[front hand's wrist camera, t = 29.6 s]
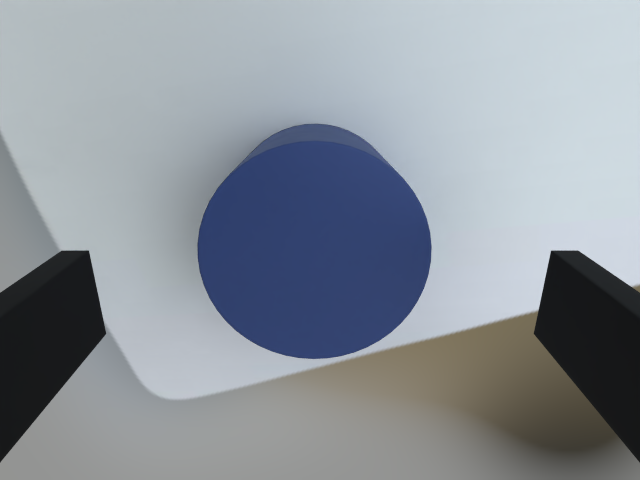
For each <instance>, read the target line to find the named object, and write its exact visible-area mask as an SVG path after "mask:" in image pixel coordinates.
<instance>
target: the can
mask: <svg viewBox="0 0 640 480" xmlns="http://www.w3.org/2000/svg"><path fill="white" fill-rule="evenodd" d="M198 262H199V269H200V274H201V277H202V280H203V284H204V286H205V289H206V291H207V293H208V295H209V298H210V299H211V301H212V303H213V304H214V306H215V307H216V309H217V311H218V312H219V313H220V314H221V315H222V317H223V318H224V319H225V320H226V321H227V322H228V323H229V324H230V325H231V326H232V327H233V328H234V329H235V330H236V331H237V332H239V333H240V334H241V335H243V336H244V337H245V338H247V339H248V340H250V341H252V342H253V343H255V344H257V345H259V346H261V347H263V348H265V349H268V350H270V351H272V352H276V353H279V354H282V355H286V356H292V357H297V358H308V359H320V358H332V357H338V356H343V355H346V354H350V353H354V352H356V351H359V350H361V349H364V348H366V347H368V346H370V345H372V344H374V343H376V342H378V341H379V340H381V339H382V338H384V337H385V336H387V335H388V334H389V333H391V332H392V331H393V330H394V329H395V328H396V327H397V326H398V325H400V324H401V323H402V321H403V320H404V319H405V318H406V317H407V316H408V314H409V313H410V312H411V310H412V309H413V307H414V306H415V304H416V303H417V301H418V299H419V297H420V295H421V293H422V291H423V289H424V286H425V283H426V280H427V277H428V274H429V268H430V263H431V237H430V230H429V226H428V222H427V218H426V216H425V213H424V211H423V208H422V206H421V204H420V202H419V200H418V198H417V197H416V195H415V193H414V192H413V190H412V189H411V188H410V186H409V185H408V184H407V183H406V181H405V180H404V179H403V178H402V177H401V176H400V175H399V174H398V173H397V172H396V171H395V169H394V168H393V167H392V166H391V165H390V164H389V163H388V162H387V161H386V160H385V159H384V158H383V157H382V156H381V155H380V154H379V153H378V152H377V151H376V150H375V149H374V148H373V147H372V146H371V145H370V144H369V143H368V142H366V141H365V140H364V139H362V138H361V137H359V136H357V135H356V134H354V133H352V132H350V131H347V130H345V129H342V128H339V127H335V126H331V125H324V124H305V125H299V126H294V127H291V128H288V129H285V130H282V131H280V132H278V133H276V134H274V135H272V136H271V137H269V138H268V139H266V140H265V141H263V142H262V143H261V144H260V145H259V146H258V147H257V148H255V149H254V150H253V151H252V152H251V153H250V154H249V155H248V156H247V157H246V158H245V159H244V160H243V162H242V163H241V164H240V165H239V166H238V167H237V168H236V169H235V170H234V171H233V172H232V173H231V174H230V175H229V176H228V177H227V178H226V179H225V180H224V181H223V183H222V184H221V185H220V186H219V187H218V189H217V190H216V192H215V193H214V195H213V197H212V198H211V200H210V201H209V204H208V206H207V208H206V210H205V213H204V215H203V219H202V222H201V226H200V229H199V237H198Z"/></svg>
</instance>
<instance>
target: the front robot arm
mask: <svg viewBox="0 0 640 480" xmlns="http://www.w3.org/2000/svg"><path fill="white" fill-rule="evenodd" d="M105 334H106V331H105V326H104V321H103V316H102V311H101V307H100V302H99V297H98V292H97V287H96V283H95V278H94V273H93V268H92V264H91V259H90V254H89V251H61V252H59V253H58V254H56V255H55V256H53V257H52V258H50V259H49V260H48V261H46V262H45V263H43V264H42V265H40V266H39V267H37V268H36V269H34V270H33V271H31V272H30V273H29V274H27V275H26V276H24V277H23V278H21V279H20V280H18V281H17V282H15V283H14V284H12V285H11V286H9V287H8V288H7V289H5V290H4V291H2V292H1V293H0V462H1V461H2V459H3V458H4V457H5V456H6V455H7V453H8V452H9V451H10V450H11V449H12V447H13V446H14V445H15V444H16V443H17V441H18V440H19V439H20V438H21V436H22V435H23V434H24V433H25V432H26V430H27V429H28V428H29V427H30V426H31V424H32V423H33V422H34V421H35V420H36V418H37V417H38V416H39V415H40V413H41V412H42V411H43V410H44V409H45V407H46V406H47V405H48V404H49V403H50V401H51V400H52V399H53V398H54V396H55V395H56V394H57V393H58V392H59V390H60V389H61V388H62V387H63V385H64V384H65V383H66V382H67V381H68V379H69V378H70V377H71V376H72V374H73V373H74V372H75V371H76V370H77V368H78V367H79V366H80V365H81V364H82V362H83V361H84V360H85V359H86V358H87V356H88V355H89V354H90V353H91V352H92V350H93V349H94V348H95V347H96V345H97V344H98V343H99V342H100V341H101V339H102V338H103V337H104V336H105ZM534 334H535V336H536V337H537V338H538V339H539V341H540V342H541V343H542V344H543V345H544V347H545V348H546V349H547V350H548V351H549V353H550V354H551V355H552V356H553V358H554V359H555V360H556V361H557V362H558V364H559V365H560V366H561V367H562V368H563V370H564V371H565V372H566V373H567V375H568V376H569V377H570V378H571V379H572V381H573V382H574V383H575V384H576V386H577V387H578V388H579V389H580V390H581V392H582V393H583V394H584V395H585V396H586V398H587V399H588V400H589V401H590V402H591V404H592V405H593V406H594V407H595V408H596V410H597V411H598V412H599V413H600V415H601V416H602V417H603V418H604V419H605V421H606V422H607V423H608V424H609V426H610V427H611V428H612V429H613V430H614V432H615V433H616V434H617V435H618V436H619V438H620V439H621V440H622V441H623V442H624V444H625V445H626V446H627V447H628V449H629V450H630V451H631V452H632V453H633V455H634V456H635V457H636V458H637V460H638V461H639V462H640V293H639V292H638V291H636V290H635V289H633V288H632V287H631V286H629V285H628V284H626V283H625V282H623V281H622V280H620V279H619V278H617V277H616V276H614V275H613V274H612V273H610V272H609V271H607V270H606V269H604V268H603V267H601V266H600V265H598V264H597V263H595V262H594V261H592V260H591V259H590V258H588V257H587V256H585V255H584V254H582V253H581V252H579V251H551V254H550V259H549V264H548V268H547V273H546V278H545V283H544V287H543V292H542V297H541V302H540V307H539V311H538V316H537V321H536V326H535V331H534Z"/></svg>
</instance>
